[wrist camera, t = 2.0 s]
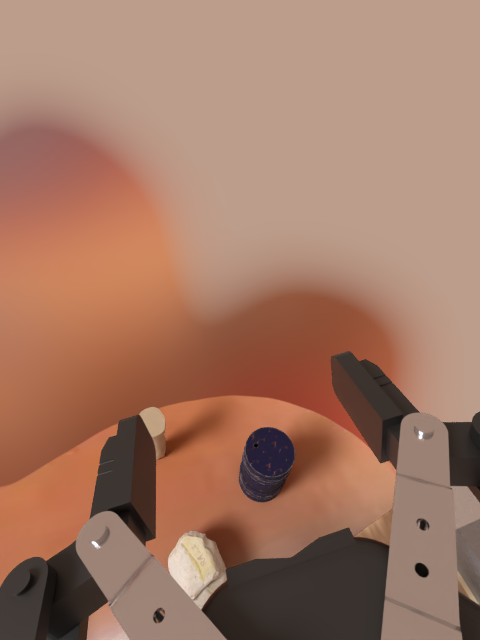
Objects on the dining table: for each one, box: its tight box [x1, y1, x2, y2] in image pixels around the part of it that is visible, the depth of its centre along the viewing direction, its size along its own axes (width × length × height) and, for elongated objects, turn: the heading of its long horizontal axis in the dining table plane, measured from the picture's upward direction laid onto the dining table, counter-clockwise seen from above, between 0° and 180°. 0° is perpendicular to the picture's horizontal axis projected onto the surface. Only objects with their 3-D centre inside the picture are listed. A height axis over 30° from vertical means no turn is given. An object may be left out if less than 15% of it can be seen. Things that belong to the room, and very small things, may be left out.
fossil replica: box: [168, 530, 227, 609], centre depth 59 cm, size 12×8×10 cm
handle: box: [140, 407, 166, 460], centre depth 71 cm, size 5×6×15 cm
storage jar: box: [239, 427, 295, 502], centre depth 69 cm, size 10×10×15 cm
